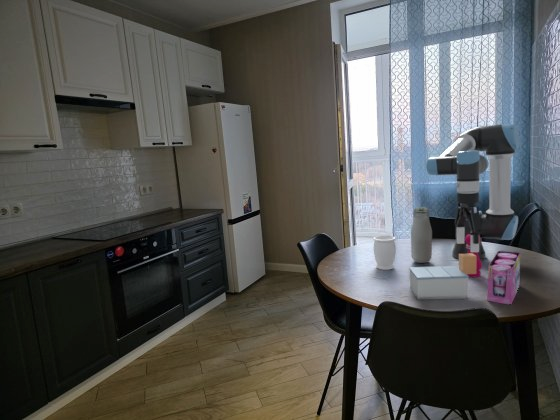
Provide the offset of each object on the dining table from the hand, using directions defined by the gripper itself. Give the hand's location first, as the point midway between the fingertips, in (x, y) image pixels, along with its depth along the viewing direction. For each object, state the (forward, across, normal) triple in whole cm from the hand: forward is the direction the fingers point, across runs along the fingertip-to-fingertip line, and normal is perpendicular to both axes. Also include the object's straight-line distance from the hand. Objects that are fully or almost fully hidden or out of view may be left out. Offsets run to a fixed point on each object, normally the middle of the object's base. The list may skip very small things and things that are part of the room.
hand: (467, 247), depth 142 cm
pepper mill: (+18, -20, +10) cm, 29 cm away
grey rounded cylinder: (+18, -41, -6) cm, 45 cm away
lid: (+10, 0, -9) cm, 13 cm away
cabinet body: (+18, 0, -11) cm, 21 cm away
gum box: (+18, +1, +13) cm, 22 cm away
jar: (+18, -35, -25) cm, 47 cm away
